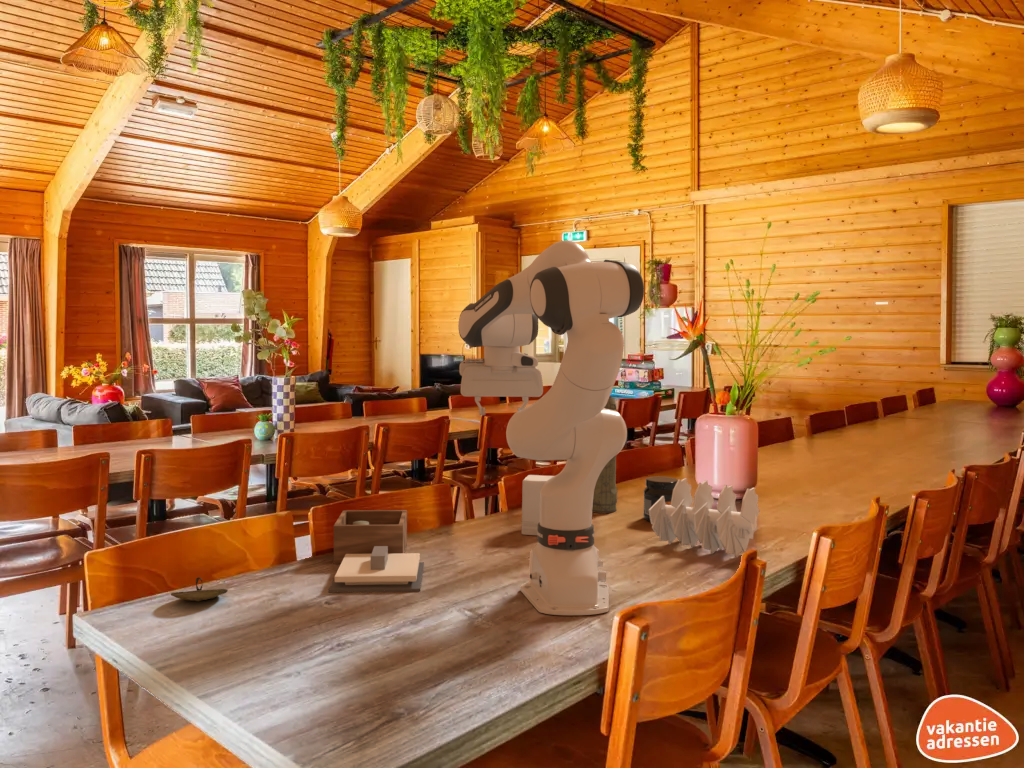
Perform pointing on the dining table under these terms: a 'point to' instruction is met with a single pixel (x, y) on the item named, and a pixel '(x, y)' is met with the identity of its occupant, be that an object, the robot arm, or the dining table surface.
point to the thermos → (606, 481)
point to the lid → (199, 593)
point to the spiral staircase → (706, 518)
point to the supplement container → (657, 492)
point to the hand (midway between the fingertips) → (501, 415)
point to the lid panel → (375, 577)
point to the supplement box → (531, 502)
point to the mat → (380, 585)
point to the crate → (369, 532)
